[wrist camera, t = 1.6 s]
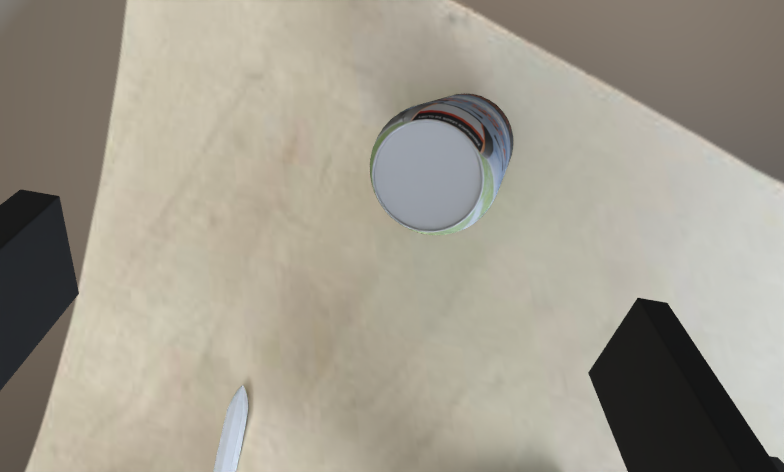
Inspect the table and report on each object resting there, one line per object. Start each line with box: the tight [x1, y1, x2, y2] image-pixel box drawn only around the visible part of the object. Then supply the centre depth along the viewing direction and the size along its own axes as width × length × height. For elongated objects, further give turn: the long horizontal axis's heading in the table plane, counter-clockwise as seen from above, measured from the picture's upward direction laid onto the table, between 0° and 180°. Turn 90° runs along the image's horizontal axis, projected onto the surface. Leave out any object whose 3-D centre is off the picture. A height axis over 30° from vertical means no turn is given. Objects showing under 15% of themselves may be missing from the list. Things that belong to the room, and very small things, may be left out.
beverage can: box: [370, 94, 513, 235], centre depth 26 cm, size 6×7×12 cm
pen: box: [213, 385, 249, 472], centre depth 39 cm, size 2×14×2 cm, turn 165°
